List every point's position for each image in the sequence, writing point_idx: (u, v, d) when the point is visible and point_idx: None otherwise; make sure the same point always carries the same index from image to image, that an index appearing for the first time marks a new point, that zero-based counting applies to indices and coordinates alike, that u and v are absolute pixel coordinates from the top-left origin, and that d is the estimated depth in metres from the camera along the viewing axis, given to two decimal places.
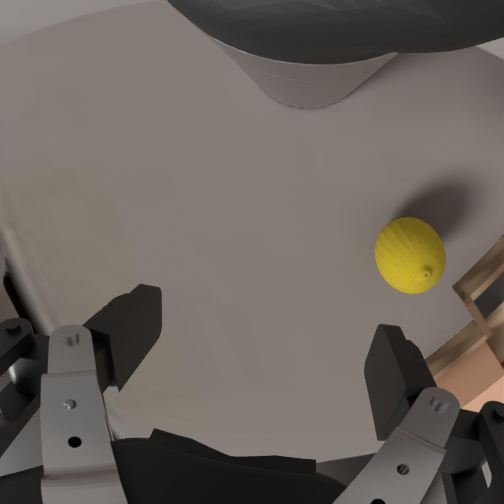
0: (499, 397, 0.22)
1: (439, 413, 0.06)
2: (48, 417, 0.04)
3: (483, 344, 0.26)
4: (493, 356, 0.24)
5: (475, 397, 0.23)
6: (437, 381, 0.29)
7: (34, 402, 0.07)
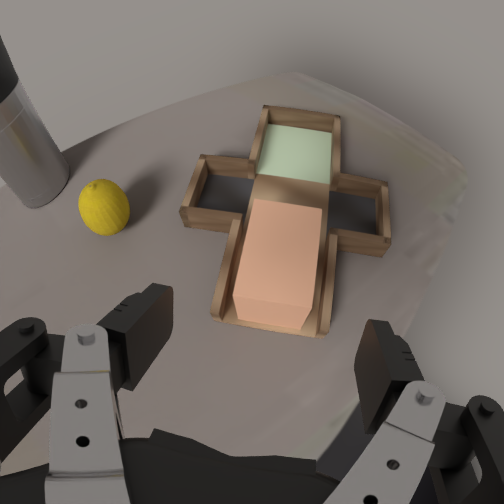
0: (287, 221, 0.27)
1: (424, 406, 0.06)
2: (58, 415, 0.04)
3: None
4: None
5: None
6: None
7: (46, 402, 0.07)
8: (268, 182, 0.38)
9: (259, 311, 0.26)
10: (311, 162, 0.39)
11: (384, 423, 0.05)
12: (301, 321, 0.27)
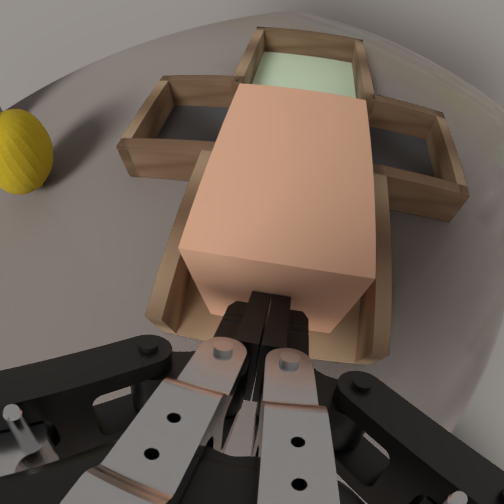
0: (303, 111, 0.12)
1: (280, 370, 0.07)
2: (143, 420, 0.05)
3: None
4: None
5: (218, 135, 0.12)
6: None
7: None
8: None
9: (248, 294, 0.12)
10: (327, 90, 0.24)
11: (266, 404, 0.05)
12: (337, 316, 0.13)
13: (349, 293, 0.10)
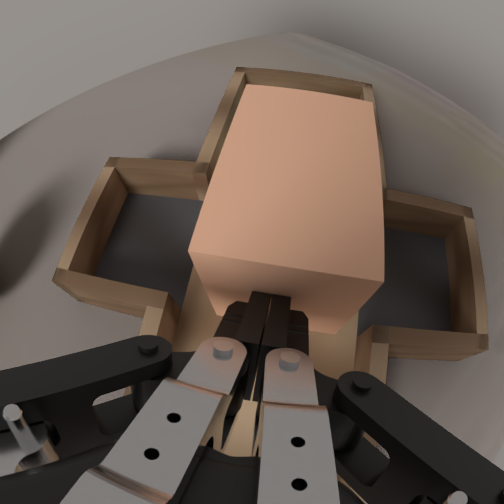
0: (310, 113, 0.12)
1: (280, 370, 0.07)
2: (143, 420, 0.05)
3: None
4: None
5: (226, 136, 0.12)
6: None
7: None
8: None
9: None
10: None
11: (266, 404, 0.05)
12: (344, 318, 0.13)
13: (357, 296, 0.10)
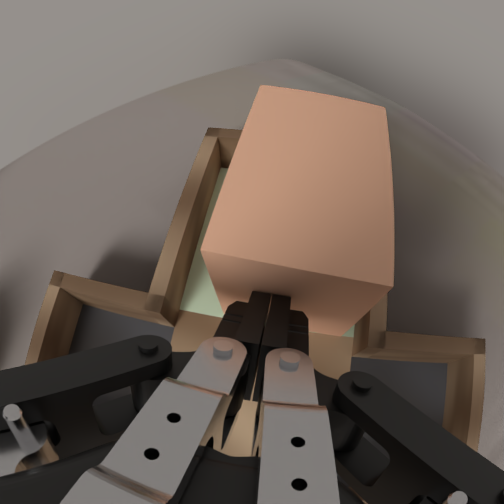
0: (324, 117, 0.12)
1: (280, 370, 0.07)
2: (143, 420, 0.05)
3: None
4: None
5: (240, 136, 0.12)
6: None
7: None
8: (205, 337, 0.15)
9: None
10: None
11: (266, 404, 0.05)
12: (350, 321, 0.13)
13: (366, 299, 0.10)
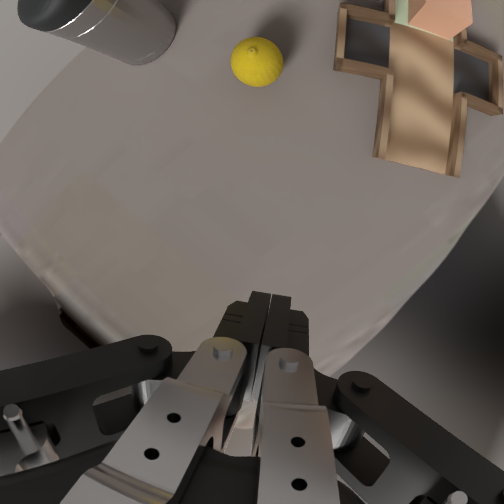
0: None
1: (280, 370, 0.07)
2: (143, 419, 0.05)
3: None
4: None
5: None
6: (411, 7, 0.26)
7: None
8: (402, 32, 0.28)
9: (433, 19, 0.24)
10: None
11: (266, 404, 0.05)
12: (456, 32, 0.25)
13: (464, 25, 0.22)
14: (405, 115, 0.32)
